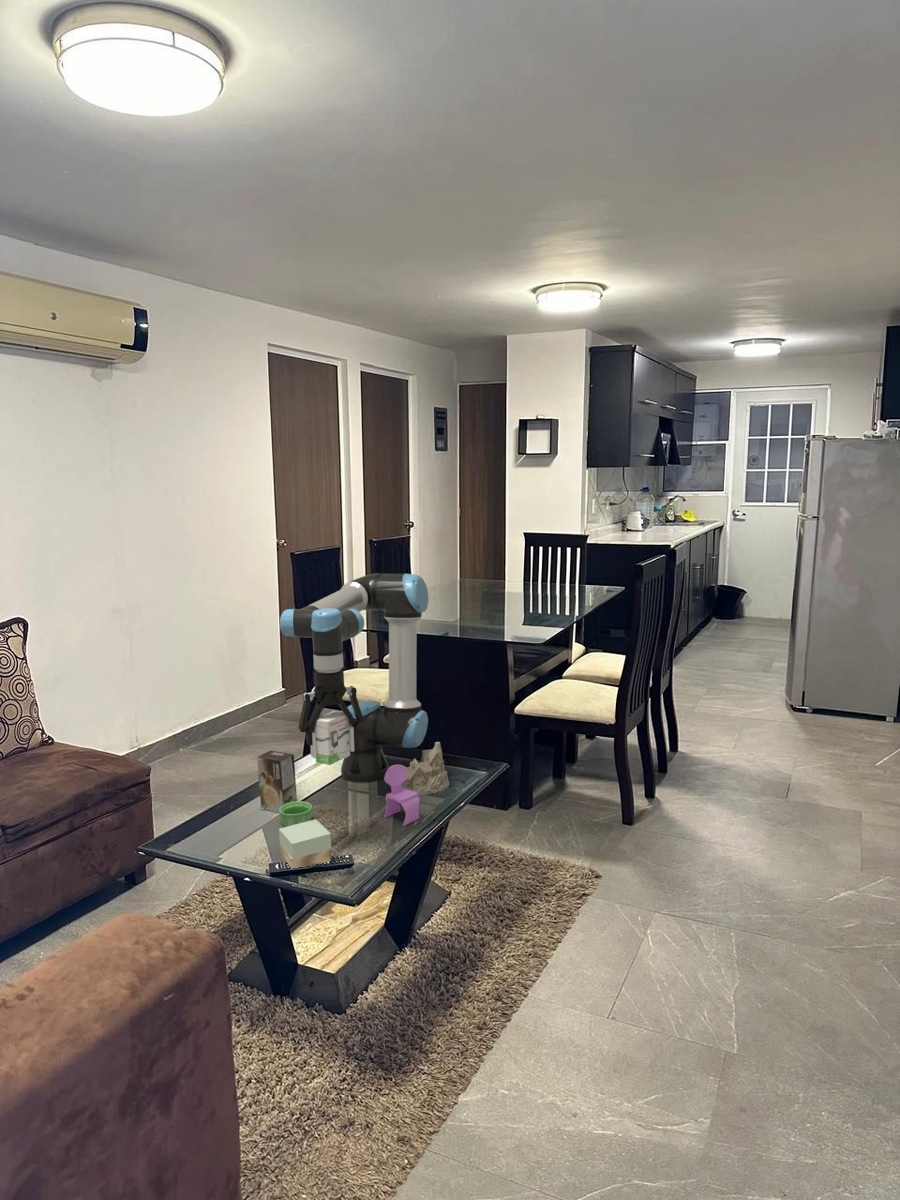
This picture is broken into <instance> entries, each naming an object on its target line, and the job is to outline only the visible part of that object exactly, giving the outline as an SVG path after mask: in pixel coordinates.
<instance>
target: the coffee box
mask: <svg viewBox="0 0 900 1200" xmlns="http://www.w3.org/2000/svg"><path fill="white" fill-rule="evenodd" d="M294 755H295V754H293V753H287V752H282V751H281V752H280V751H275V750H268V751H266V752H264V753H262V754H261V755H259V756H257V757H256V761H257V773H258V784H259V785H258V786H259V796H260V809H261V808H264V809H267V810H266V811H268V810H270V812H274V813H278V814H280V811H279V809H280V807H281V806H283V805H285V804H287V803H290V802H296V801H298V798H297V797H298V796H297V782H296V769H295V768H296V767H295V756H294Z"/></svg>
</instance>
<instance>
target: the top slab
mask: <svg viewBox="0 0 900 1200" xmlns="http://www.w3.org/2000/svg"><path fill="white" fill-rule="evenodd" d="M278 836H279V845H280V844H281V845H282V847H283V848H284V849H285V850H286V851H287V853H288V854H289V855H290V856H291V857H292V859H296V858H300V857H303V856H307V855H310V854H314V853H318V852H321V851H325V850H328V849H330V850H331V849H332V838H331V837H332V834H331V832H330V831H328V829H326V827H325V826H323V825H322V823H320V821H319V820H318V819H311V821H307V822H303V823H299V824H295V825H292V826H288V827H285V826H283V827H281V828H278Z"/></svg>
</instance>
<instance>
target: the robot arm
mask: <svg viewBox="0 0 900 1200" xmlns="http://www.w3.org/2000/svg"><path fill="white" fill-rule="evenodd" d="M429 600H430V599H429V592H428V586H427V584H426V582H425V580H424V579H423V577H421V576H420V575H419V574H411V573H379V572H378V573H371V574H367V575H363V576H361V577H358V578H355V579H353V580H351V581H348V582H346V583H345V584H343V586H342V587H341V588H340V589H339V590H337V591H335V592H333V593H330V594H329V595H327V596H325V597H323V598H321V599H319V600H317V601H315V602H313V603H310V604H309V605H307V606H304V607H302V608H299V609H298V608H288V609H285V610H283V611H282V613H281V615H280V618H279V629H280V631H281V633H282V635H284V636H286V637H291V638H292V637H293V638H308V639H309V638H312V649H313V650H312V652H313V655H312V657H313V669H314V672H313V676H314V677H313V678H314V688H313V689H314V690H313V691H312V692H303V693H302V699H303V700H302V701H303V703H302V708H301V713H300V717H299V723H298V730H299V731H300V732H301V733H305V736H306V737H305V739H306V741H305V742H306V744H307V745H308V746H310V756H311V757H312V758H313V759H316V758H317V754H316V734H315V732H314V727H315V725H316V723H317V720H318V719H319V716H321V715H322V712H323V710H324V709H325V707H328V706H329V707H330V706H339V708H340V710H341V712H343V713H344V714H346V716H347V718H348V720H349V743H350V756H348V757H346V758H344V759H342V764H341V768H340V773H341V774H340V775H341V777H342V779H344V780H346V781H349V782H354V783H366V782H374V781H377V780H381V779H382V778H384V777H385V774H386V772H387V770H388V768H389V764H388V760H387V758H386V756H385V752H384V751H383V746H386V747H387V746H389V747H397V748H404V749H405V748H410V749H411V748H417V747H419V746H420V745H421V744H422V743H423V741H424V739H425V737H426V734H427V729H428V725H429V717H428V712H426V711H425V710H423V709H422V703H421V702H420V701H419V700H418V699H417V643H418V642H417V641H418V640H417V638H418V637H417V633H418V632H417V629H418V628H417V623H418V621H420V620H421V619H422V613H425V612H426V611H427V610H428V606H429V605H428V604H429ZM362 611H379V612H380V611H381V612H384V614H383V618H384V619H385V620H386V621H387V622H388V699H387V700H386V701H385V702H384V704H383V707H381V702H380V701H377V700H363V701H358V697H357V692H358V691H357V688H356V687H354V686H353V685H350V686H347V687H346V686H345V676H344V675H345V673H344V669H343V668H344V652H343V642H344V641H347V640H349V639H352V638H355V637H356V636H358V635H359V634H361V633H362V631H363V630H364V627H365V619H364V616H363V615H362V613H361V612H362ZM346 693H347V695H348V697H349V700H350V705H348V706H347V705H346V703H345V701H344V699H343V697H344V696H345V695H346ZM314 697H315V698H316V703H315V706H314V710H313V711H312V713H311V715H310V709H311V704H312V703H311V702H312V701H313V700H314ZM309 715H310V718H309ZM308 719H309V720H308Z"/></svg>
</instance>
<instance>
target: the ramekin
mask: <svg viewBox="0 0 900 1200" xmlns="http://www.w3.org/2000/svg"><path fill="white" fill-rule="evenodd" d="M312 810H313V805H312V804H311V803H310V802H307V801H302V800H299V801H298V800H297V801H296V802H290V803H287V804H285V805H283V806H281V807H280V809H279V811H280V813H279V814H280V818H281V824H282V825H283V827H288V826H292V825H295V824H299V823H303V822H307V821H311V820H312Z"/></svg>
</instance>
